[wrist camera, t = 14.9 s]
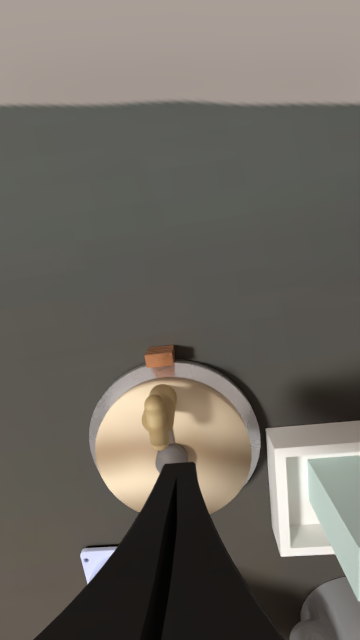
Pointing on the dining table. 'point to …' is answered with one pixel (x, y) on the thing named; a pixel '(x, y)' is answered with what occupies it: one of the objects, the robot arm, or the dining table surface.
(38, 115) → the dining table surface
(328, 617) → the coffee mug
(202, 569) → the robot arm
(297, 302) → the dining table surface
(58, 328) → the dining table surface
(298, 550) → the tray
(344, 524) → the block
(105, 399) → the crank base
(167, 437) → the crank
